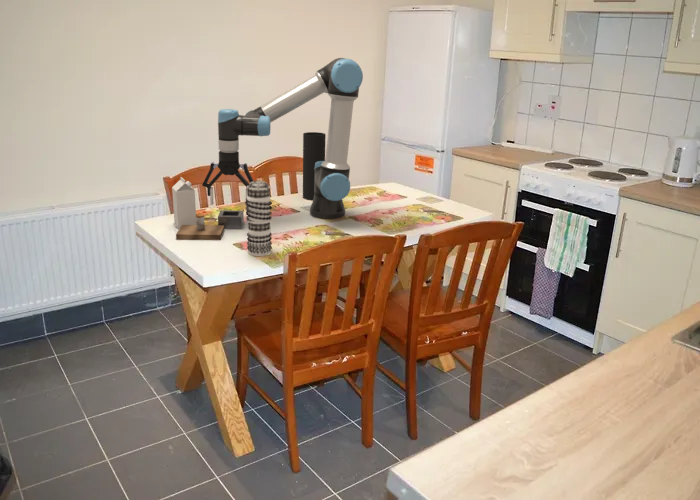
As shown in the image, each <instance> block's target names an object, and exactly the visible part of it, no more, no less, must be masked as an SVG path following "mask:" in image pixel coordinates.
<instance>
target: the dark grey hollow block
mask: <svg viewBox="0 0 700 500" xmlns="http://www.w3.org/2000/svg"><path fill="white" fill-rule="evenodd" d="M244 219H245V218H244V210H230V209H229V210H228V209H227V210H226V209H225V210H224V209H222V210H220V211H219V213H218V216H217V225H224V230H242V229H243V226H244V222H245V221H244Z"/></svg>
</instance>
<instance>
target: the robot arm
mask: <svg viewBox="0 0 700 500" xmlns="http://www.w3.org/2000/svg"><path fill="white" fill-rule="evenodd" d="M363 78H364V75H363V70H362V68H361V66H360V65H359V64H358V63H357V62H356V61H354V60H353V59H350V58H346V57H345V58H344V57H338V58H335V59H333V60H331V61H330V62H329V63H328V64H326V65H325V66H323V67H321V68H320V69H318V70H316V71H315V75H313V76H311V77H309V78H308V79H306V80H304V81H302V82H301V83H299V84H297V85H295V86H294V87H292V88H290V89H289V90H287V91H285V92H283V93H281V94H279V95H278V96H276V97H274V98H272V99H271V100H269V101H268V102H266V103H264V104H261V105H260V106H259V107H256V108H255V109H253V110H249V111H247V112H246V114H245V115H242V114H239V110H238V109H234V108H233V109H232V108H222V109H219V110H218V113H217V119H218V120H217V127H218V128H217V129H218V130H217V131H218V133H217V135H218V150H219V151H218V163H216V162H214V161H212V162H210V165H209V170H208V172H207V174H206V176H205V179H204V180H203V182H202V187H204V188H206V190H207V191H206V192H207V197H209V198H210V200H209V201H210V202H209V205H210V206H213V205H214V187H213V185H214V184H215V182H217V180H218V179H219V178H220V177H221V176H222V175H224V176H235V177H237V178H238V179H239V181H240V182H241V183H242V184H243V185H244V187H246V188H245V200H246V199H247V195H248V193H247V186H248V185H249V184H250V183H251V182H253V181H254V179H253V177H252V174H251V173H250V171H249V167H248V163H242V164H240V155H239V154H240V153H239V148H240V144H239V136H243V137H244V136H250V137H251V136H254V137H268V136H269V135H271V124H272V122H274V121H276V120H278V119H279V118H281V117H283V116H285V115H287V114H289V113H291V112H292V111H294V110H296V109H297V108H300V107H301V106H302V105H304V104H307V103H308V102H310V101H312V100H313V99H315V98H317V97H318V96H320V95H323V94H325V93H326V94H327V95H328V96H329V97H330V99H331V101H330V109H329V118H328V119H329V121H328V131H327V141H326V148H325V161H318V162H316V163H315V168H314V170H315V183H314V199H313V200H312V202H311V205H310V208H309V215H310V216H311V217H314V218H318V219H325V220H327V219H328V220H329V219H330V220H331V219H339V218H343V217H345V215H346V207H345V205H344V200H343V199H344V198H346V197H347V196H348V195H349V193H350V191H351V182H350V172H351V166H350V165H349V164H348V154H349V147H350V146H349V144H350V138H351V127H352V121H353V120H352V119H353V112H354V111H353V110H354V102H355V101H356V100H357V99H358V98H359V92H360V87H361V85H362V83H363ZM217 168H218V170H219V171H218V173H217V174H216V175H215V176H214V177H213V179H211V181H210V182H209V180H210V177H211V176H212V173H213V172H214V170H216V169H217ZM240 169H241V170H242V171H243V172H244V173H245V176H246V178H247V180H246V179H245V177H244V176H243V175H242V174H241V172H240V171H239V170H240ZM248 181H249V182H248ZM246 206H247V205H246V204H245V207H246Z"/></svg>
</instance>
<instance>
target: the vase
mask: <svg viewBox="0 0 700 500" xmlns="http://www.w3.org/2000/svg"><path fill="white" fill-rule="evenodd" d="M326 138H327V137H326V133H323V132H314V131H313V132H311V131H310V132H304V133H302V199H304V200H307V201H308V200H309V201H313V199H314V183H315V170H314V168H315V163H316V162H318V161H325V159H326Z"/></svg>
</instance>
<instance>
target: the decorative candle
mask: <svg viewBox="0 0 700 500" xmlns="http://www.w3.org/2000/svg"><path fill="white" fill-rule="evenodd" d="M246 188H247V193H248V195H247V199H246V198H245V201H244V203H245V215H246V216H247V217H246V219H245V220H246V222H247V224H248V225H247V226H248V227H247V233H246V236H247V238H246V239H247V242H246V245H247V246H246V248H247V254H248V255H249V256H254V257H266V256H268V254H269V255H271V254H272V253H273V251H272V249H273V246H272V244H273V243H272V240H273V238H272V236H273V234H272V232H271V231H272V230H271V221H272V218H273V216H271V215H272V214H273V213H272V212H271V210H272V209H273V206H272V204H273V202H272V201H271V194H270V193H271V192H270V188H271V185H269V184H268V183H267V182H266V181H263V180H255V181H253V182H251V183H250V182H249V185H248V186H247V187H246ZM246 205H247V206H246ZM271 252H272V253H271ZM265 255H266V256H265Z"/></svg>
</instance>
